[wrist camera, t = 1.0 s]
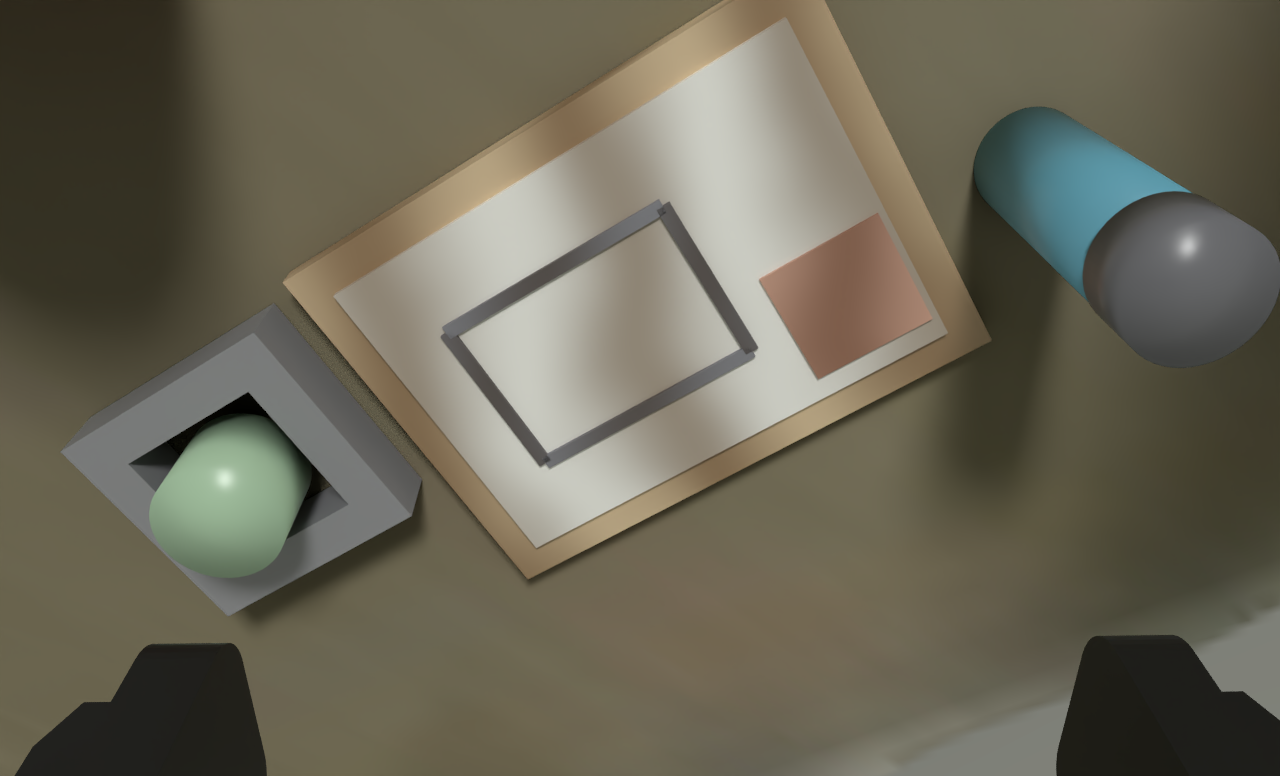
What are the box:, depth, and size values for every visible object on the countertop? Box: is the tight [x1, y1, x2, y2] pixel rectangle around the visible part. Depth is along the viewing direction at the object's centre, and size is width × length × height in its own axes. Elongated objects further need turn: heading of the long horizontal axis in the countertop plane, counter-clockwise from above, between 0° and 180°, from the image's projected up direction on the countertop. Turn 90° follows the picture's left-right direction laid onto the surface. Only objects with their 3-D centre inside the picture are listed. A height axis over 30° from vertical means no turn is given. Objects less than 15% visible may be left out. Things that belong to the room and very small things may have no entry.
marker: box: [974, 107, 1280, 368], centre depth 25 cm, size 3×3×9 cm
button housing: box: [61, 303, 422, 616], centre depth 32 cm, size 7×7×2 cm
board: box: [283, 0, 992, 579], centre depth 30 cm, size 16×12×1 cm
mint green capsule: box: [149, 413, 312, 578], centre depth 30 cm, size 4×4×3 cm
